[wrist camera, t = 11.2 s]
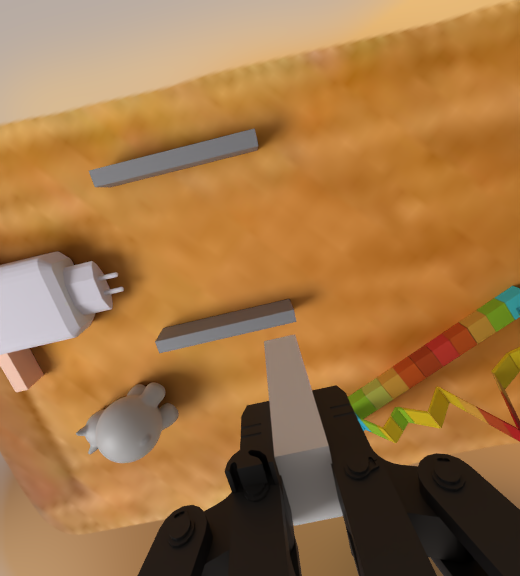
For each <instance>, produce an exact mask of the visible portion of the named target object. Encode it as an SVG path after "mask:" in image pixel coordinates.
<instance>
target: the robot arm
mask: <svg viewBox="0 0 520 576" xmlns="http://www.w3.org/2000/svg"><path fill="white" fill-rule="evenodd" d="M264 346H265V357H266V368H267V380H268V391H269V401H266V402H262V403H257V404H252V405H248V406H247V407H246V409H245V411H244V412H243V414H242V417H241V442H240V450H239V451H238V452H237V453H235V454H234V455H233V456H232V457H231V459H230V460H229V461H228V463H227V466H226V469H225V474H226V477H227V479H228V482H229V485H230V488H231V490H232V493H231V494H230V495H229V496H228V497H227V498H226V499H224V500H223V501H221V502H220V503H218V504H217V505H215V506H213V507H211V508H209V509H208V510H206V511H204V512H203V510H202V509H201V508H200V507H197V506H194V505H189V506H183V507H181V508H179V509H177V510H176V511H174V512H173V513H172V514H171V515H170V516H169V517H167V518H166V519H165V521H164V523H163V524H162V526H161V527H160V529H159V531H158V533H157V536H156V537H155V540H154V542H153V544H152V546H151V548H150V551H149V553H148V555H147V557H146V559H145V561H144V563H143V565H142V568H141V570H140V572H139V574H138V576H302V574H301V567H300V561H299V552H298V546H297V543H296V539H295V536H294V529H293V524H294V525H300V524H305V523H310V522H315V521H320V520H325V519H330V518H335V517H340V516H343V518H344V521H345V524H346V529H347V534H348V539H349V543H350V548H351V553H352V555H353V557H354V560H355V564H356V567H357V571H358V574H359V576H437V575H436V573H435V571H434V569H433V567H432V565H431V563H430V560H429V558H428V557H431V559H432V560H433V562H434V563H435V564H436V566H437V567H438V568H439V570H440V571H441V573H442V574H443V575H444V576H520V510H519V509H518V508H517V507H516V506H515V505H514V504H513V503H511V502H510V501H509V500H508V499H507V498H506V497H504V496H503V495H502V494H501V493H500V492H499V491H498V490H497V489H496V488H494V487H493V486H492V485H491V484H490V483H489V482H488V481H486V480H485V479H484V478H483V477H482V476H481V475H480V474H478V473H477V472H476V471H475V470H474V469H473V468H472V467H470V466H469V465H468V464H466V463H465V462H464V461H462V460H460V459H459V458H456V457H453V456H451V455H448V454H432V455H428V456H426V457H425V458H424V459H422V460H421V461H420V463H419V466H418V467H417V466H407V465H399V464H394V463H391V462H388V461H386V460H384V459H383V458H381V457H379V456H378V455H377V454H376V453H375V452H374V451H373V449H372V448H371V446H370V444H369V442H368V440H367V438H366V436H365V433H364V431H363V429H362V427H361V425H360V423H359V421H358V418H357V416H356V414H355V412H354V410H353V408H352V406H351V404H350V401H349V399H348V397H347V395H346V393H345V392H344V391H343V390H341V389H340V388H339V387H338V386H331V387H327V388H322V389H317V390H313V391H312V389H311V386H310V383H309V379H308V376H307V373H306V369H305V366H304V363H303V360H302V356H301V353H300V350H299V346H298V343H297V340H296V336H295V335H290V336H286V337H281V338H277V339H273V340H268V341H264Z"/></svg>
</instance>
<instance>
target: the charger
mask: <svg viewBox="0 0 520 576" xmlns="http://www.w3.org/2000/svg"><path fill="white" fill-rule="evenodd" d="M114 277H118V273H117V272H114V273H110V274H106V275H104V274H103V272H102V271H101V270H100V268H99V267H98V266H97V264H96V263H94V262H93V261H90V262H86V263H82V264H78V265H74V264H73V262H72V260H71V259H70V258H69V257H67V256H65V255H64V254H62V253H60V252H58V251H56V252H52V253H48V254H44V255H39V256H35V257H31V258H27V259H23V260H19V261H15V262H11V263H7V264H2V265H0V355H2V354H6V353H10V352H15V351H19V350H23V349H27V348H32V347H36V346H40V345H45V344H49V343H53V342H57V341H62V340H66V339H70V338H75V337H77V336H79V335H80V334H81V333H82V332H83V331H84V330H85V329H86V328H88V327H89V326H90V325H91V323H92V321H93V318H94V316H95V313H97V312H102V311H106V310H110V309H112V307H113V302H112V296H111V294H113V293H118V292H122V291H124V288H123V287H118V288H114V289H110V288H109V286H108V283H107V281H106V279H110V278H114Z"/></svg>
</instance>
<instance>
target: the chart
mask: <svg viewBox="0 0 520 576" xmlns="http://www.w3.org/2000/svg"><path fill="white" fill-rule="evenodd" d="M519 317H520V288H517V287H515V286H512V287H510V288H509V289H507V290H506V291H504V292H503V293H501V294H500V295H498V296H497V297H495V298H494V299H492V300H491V301H489V302H488V303H486V304H485V305H483V306H482V307H480V308H479V309H477V311H475V312H473V313H472V314H470V315H469V316H467V317H466V318H464V319H463V320H461V321H460V322H459V323H457V324H455V325H454V326H452V327H451V328H449V329H448V330H446V331H445V332H443V333H442V334H441V335H439V336H438V337H436V338H435V339H433V340H432V341H430V342H429V343H427V344H426V345H424V346H423V347H421V348H420V349H418V350H417V351H415V352H414V353H412V354H411V355H409V357H410V358H409V357H407V358H405V359H404V360H402V361H401V362H399V363H398V364H396V365H395V366H393V367H392V368H390V369H389V370H387V371H386V372H384V373H383V374H381V375H380V376H378V377H377V378H375V379H374V380H373V381H371V382H370V383H368V384H367V385H365V386H364V387H362V388H361V389H359V390H358V391H356V392H355V393H353V394H352V395H350V396H349V397H348V399H349V401H350V404H351V406H352V408H353V410H354V412H355V414H356V416H357V418H358V421H359V423H360V425H361V427H362V429H363V431H364V430H365V429H366V430H367V431H370V432H372V433H374V434H376V435H379V436H381V437H383V438H385V439H387V440H390V441H392V442H394V443H397V442H398V440H399V438H400V436H401V435H402V433H403V431H404V429H405V428H406V426H407V424H408V422H409V423H414V422H415V423H416V424H420V425H425V426H430V427H435V428H440V427H441V428H442V425H443V422H444V419H445V415H446V412H447V409H448V405H449V402H450V403H452V404H453V405H455V406H457V407H459V408H461V409H462V410H464V411H466V412H468V413H470V414H471V415H473V416H475V417H477V418H479V419H480V420H482V421H484V422H486V423H487V424H489V425H491V426H493V427H495V428H496V429H498V430H500V431H502V432H504V433H505V434H507V435H509V436H511V437H513V438H514V439H516V440H518V441H520V421H519V419H518V416H517V414H516V412H515V410H514V408H513V406H512V404H511V402H510V399H509V397H508V395H507V393H506V391H505V389H506V388H507V386H508V385H509V384H510V383H511V381H512V380H513V379H514V378H515V377H516V375H517V374H518V373H519V372H520V347H518V348H516V349H514V350H512V351H510V352H508V353H506V354H505V356H504V357H503V358H502V359H501V360H500V362H499V363H498V364H497V365H496V366H495V368H494V369H493V370H492V371H491V372H492V374H493V376H494V378H495V380H496V383H497V385H498V387H499V389H500V391H501V394H502V396H503V398H504V400H505V402H506V405H507V407H508V409H509V411H510V413H511V416H512V418H513V420H514V422H515V424H516V427H517V428H518V429H517V428H516V427H514V426H512V425H510V424H509V423H507V422H505V421H503V420H501V419H499V418H497V417H495V416H493V415H491V414H489V413H488V412H486V411H484V410H482V409H480V408H478V407H476V406H474V405H472V404H470V403H468V402H467V401H465V400H463V399H461V398H459V397H457V396H455V395H453V394H451V393H450V392H448V391H446V390H444V389H442V388H440V387H438V386H437V387H438V388H439V389H440V390H439V389H438V388H437V387H436V389H435V392H434V395H433V398H432V400H431V403H430V406H429V409H428V412H429V413H430V414H431V415H430V414H429V413H428V412H427V411H421V410H414V409H408V408H401V407H397V408H398V409H397V408H396V407H395V409H394V410H393V412H392V414H391V416H390V417H389V419H388V420H387V422H386V424H385V425H384V427H380V426H378V425H376V424H373V423H371V422H368V421H366V420H363V419H364V418H366V417H367V416H369V415H370V414H372V413H373V412H375V411H376V410H378V409H379V408H381V407H382V406H384V405H385V404H387V403H388V402H390V401H392V400H393V399H395V398H396V397H398V396H399V395H401V394H402V393H404V392H405V391H407V390H408V389H410V388H411V387H413V386H414V385H416V384H417V383H419V382H421V381H422V380H424V379H425V378H427V377H428V376H430V375H431V374H433V373H434V372H436V371H437V370H439V369H440V368H442V367H443V366H445V365H447V364H448V363H450V362H451V361H453V360H454V359H456V358H457V357H459V356H460V355H462V354H463V353H465V352H466V351H468V350H469V349H471V348H472V347H474V346H476V345H477V343H478V344H479V343H480V342H482V341H483V340H485V339H486V338H488V337H489V336H491V335H492V334H494V333H495V332H497V331H499V330H500V329H502V328H503V327H505V326H506V325H508V324H509V323H511V322H513V321H514V320H516V319H517V318H519ZM441 392H442V393H443V394H442V393H441ZM444 396H445V397H446V398H445V397H444ZM392 398H393V399H392ZM447 400H448V401H449V402H448V401H447ZM405 411H406V412H405ZM401 413H402V414H403V415H402V414H401ZM431 416H432V417H433V418H434V419H435V420H434V419H433V418H432V417H431ZM410 417H411V418H410ZM392 418H393V419H394V420H395V421H394V420H393V419H392ZM406 419H407V420H408V421H407V420H406ZM435 421H436V422H437V423H438V424H437V423H436V422H435ZM415 423H414V424H415ZM398 425H399V426H400V427H401V428H400V427H399V426H398ZM439 426H440V427H439ZM402 430H403V431H402Z"/></svg>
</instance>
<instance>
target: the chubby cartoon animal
mask: <svg viewBox="0 0 520 576" xmlns="http://www.w3.org/2000/svg"><path fill="white" fill-rule="evenodd" d="M164 397H165V388H164V387H163V386H162V385H160V384H158V383H155V382H152V383H150V384H148V385H147V386H146V387H145V386H144V385H142V384H137V385H135V386H134V387H133V388H132V389H131V390H130V391H129V393H128V394H127V396H126V397H123V398H120V399H118V400H116V401H115V402H113V403H112V404H110V405H109V406H108V407H107V408H106V409H105V410H99V411H98V412H96V413H95V414H93V415H92V416H91V417H90V418H89V420H88V421H87V424H86V425H85V427H83V428H82V429H80V430H79V431H78V432H77V433H76V435H78V436H85V437H86V439H87V441H88V442H89V443H90V445H91V447H90V449H89V452H88V454H92V453H93V452H95V451H96V450H97V449H98V448H99V450H100V452H101V453H102V454H103V455H104V456H105V457H106V458H107V459H109V460H111V461H114V462H117V463H129V462H133V461H136V460H138V459H140V458H142V457H144V456H145V455H146V454H148V453H149V452H150V451H151V450H152V449H153V447H154V446H155V445H156V443H157V441H158V439H159V437H160V434H161V431H162V430H163V429H165V428H167V427H169V426H170V425H172V424H173V423H174V422H175V421H176V420H177V418H178V415H179V413H178V410H177V408H176V407H175V406H174V405H172V404H171V403H166V404H164V405H162V406H161V407H160V408H159V407H158V404H159V403H160V402H161V401H162V400H163V398H164Z"/></svg>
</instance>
